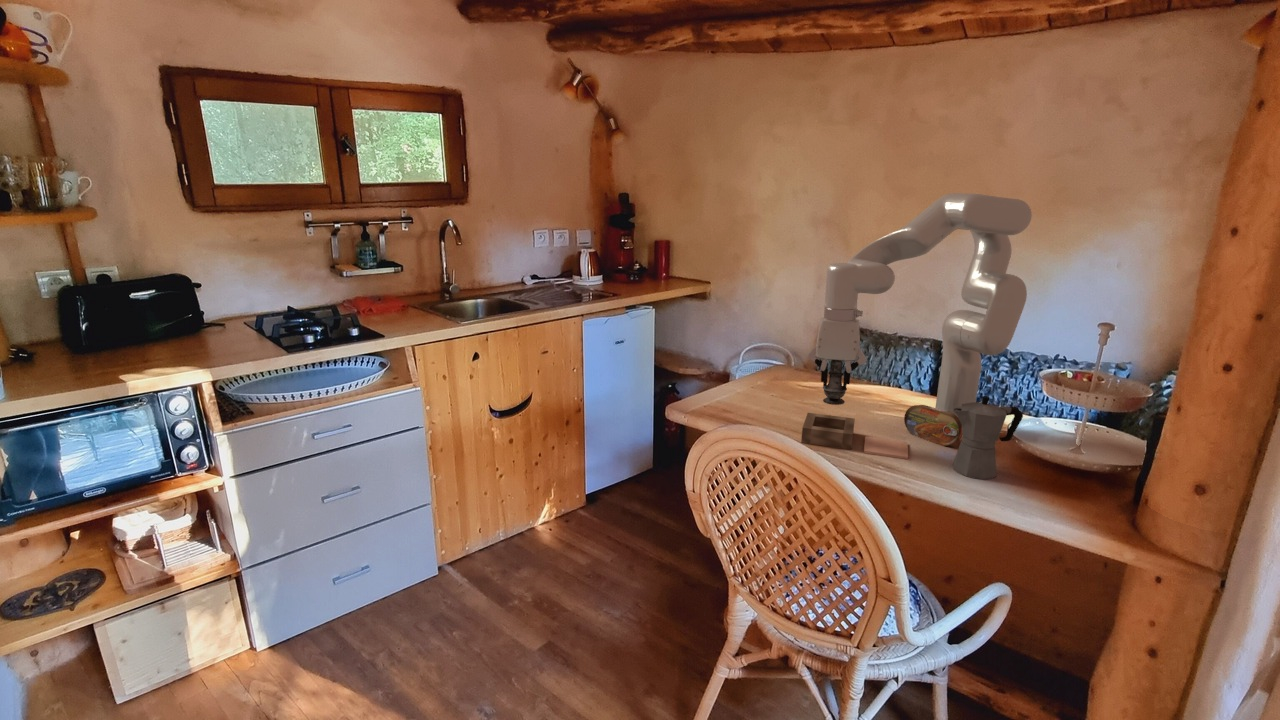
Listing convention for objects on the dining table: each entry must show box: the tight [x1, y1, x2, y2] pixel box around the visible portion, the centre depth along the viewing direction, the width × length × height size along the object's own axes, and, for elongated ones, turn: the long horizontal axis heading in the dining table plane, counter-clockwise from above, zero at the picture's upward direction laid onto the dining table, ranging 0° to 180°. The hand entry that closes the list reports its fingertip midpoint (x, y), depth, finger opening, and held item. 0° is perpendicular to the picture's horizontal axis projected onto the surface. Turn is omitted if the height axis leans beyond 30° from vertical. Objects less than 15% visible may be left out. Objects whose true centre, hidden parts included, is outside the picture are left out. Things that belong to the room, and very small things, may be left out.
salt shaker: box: [822, 360, 848, 406], centre depth 162 cm, size 6×6×12 cm
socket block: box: [800, 412, 856, 451], centre depth 165 cm, size 12×12×4 cm
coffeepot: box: [952, 395, 1024, 480], centre depth 145 cm, size 15×9×18 cm, turn 90°
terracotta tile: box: [863, 436, 909, 460], centre depth 159 cm, size 10×10×1 cm
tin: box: [903, 404, 963, 446], centre depth 165 cm, size 15×3×8 cm, turn 33°
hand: (834, 384), depth 162 cm, fingers closed on salt shaker, 4 cm apart
